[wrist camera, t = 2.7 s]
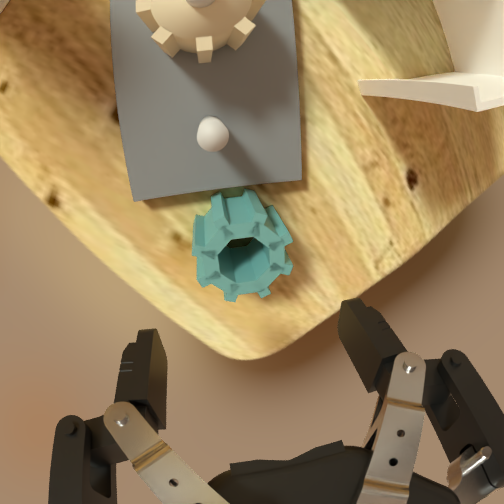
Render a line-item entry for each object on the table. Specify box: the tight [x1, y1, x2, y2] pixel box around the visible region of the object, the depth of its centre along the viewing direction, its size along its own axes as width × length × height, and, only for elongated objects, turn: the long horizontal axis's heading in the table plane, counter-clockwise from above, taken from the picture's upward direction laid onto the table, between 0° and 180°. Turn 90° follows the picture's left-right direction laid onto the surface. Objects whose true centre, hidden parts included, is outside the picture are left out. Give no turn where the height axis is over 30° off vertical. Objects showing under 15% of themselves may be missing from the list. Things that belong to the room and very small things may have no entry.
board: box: [110, 0, 302, 202], centre depth 13 cm, size 11×14×7 cm
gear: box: [192, 188, 293, 302], centre depth 19 cm, size 6×6×4 cm
